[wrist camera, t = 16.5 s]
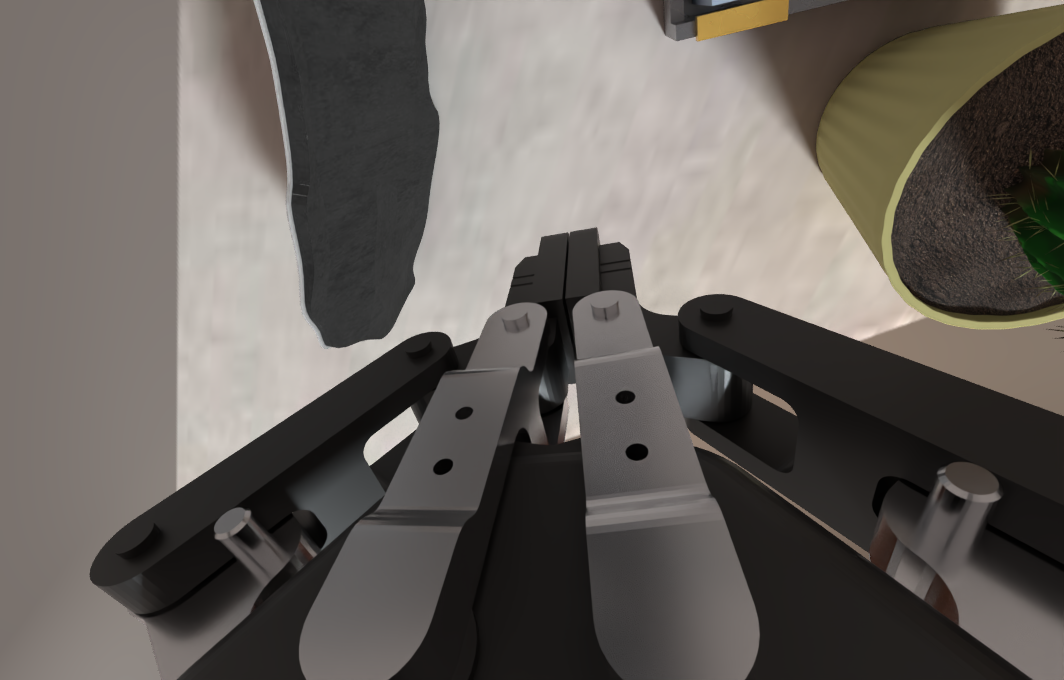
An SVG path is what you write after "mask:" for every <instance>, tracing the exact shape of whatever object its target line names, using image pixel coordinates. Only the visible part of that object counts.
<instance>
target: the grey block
mask: <svg viewBox="0 0 1064 680" xmlns="http://www.w3.org/2000/svg"><path fill="white" fill-rule="evenodd" d="M731 1H735V0H692V4H695V5H705V6H715V5H719V4H723V3H727V2H731Z"/></svg>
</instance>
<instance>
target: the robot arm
mask: <svg viewBox="0 0 1064 680" xmlns="http://www.w3.org/2000/svg"><path fill="white" fill-rule="evenodd" d="M575 383H576V389H577V400H578V412H579V423H580V435H581V438H579V439H575V440H571V441H568V442H564V441H565V434H566V428H567V421H568V414H569V404H568V400H567V393H568V384H575ZM753 384H754V385H756V386H758V387H760V388H762V389H764V390H766V391H768V392H769V393H771V394H773V395H775V396H777V397H779V398H781V399H783V400H784V401H785V402H787V403H788V404H789V405H790V406H791V407H792V408H793V410H794V411H795V413H796V414H797V416H795V415H793V414H792V413H790V412H788V411H786V410H784V409H782V408H780V407H778V406H777V405H775V404H773V403H771V402H769V401H767V400H765V399H763V398H761V397H759V396H758V395H756V394H754V393H753ZM410 406H411V408H412V410H413V412H414V414H415V416H416V418H417V421H418V423H419V425H418V427H417V429H416V430H415V431H414V432H413V433H411V434H410V435H409V436H408V437H406V438H405V439H404V440H402V441H401V442H400V443H399V444H397V445H396V446H395V447H394V448H392V449H391V450H390V451H389V452H387V453H386V454H385V455H383V456H382V457H381V458H380V459H378V460H377V461H376V462H375V463H373V464H372V465H370V466H369V465H368V463H367V462H366V460H365V458H364V454H363V451H364V447H365V444H366V442H367V441H368V439H369V438H370V437H371V436H372V435H373V434H374V433H376V432H377V431H378V430H380V429H381V428H382V427H384V426H385V425H386V424H388V423H389V422H390V421H392V420H393V419H394V418H396V417H397V416H398V415H400V414H401V413H402V412H404V411H405V410H406V409H408V408H409V407H410ZM687 428H688V429H689V430H690V431H691V432H692V433H693V434H694V435H696V436H697V437H699V438H700V439H702V440H703V441H705V442H706V443H707V444H709V445H710V446H712V447H714V448H715V449H716V450H718V451H719V452H721V453H722V454H724V455H725V456H727V457H728V458H730V459H731V460H733V461H734V462H735V463H737V464H738V465H740V466H741V467H743V468H744V469H746V470H747V471H749V472H750V473H752V474H753V475H755V476H756V477H758V478H759V479H761V480H762V481H764V482H765V483H766V484H768V485H770V486H771V487H772V488H774V489H775V490H777V491H778V492H780V493H781V494H783V495H784V496H786V497H787V498H789V499H790V500H792V501H793V502H795V503H796V504H797V505H799V506H800V507H802V508H804V509H805V510H806V511H808V512H809V513H811V514H812V515H814V516H815V517H817V518H818V519H820V520H821V521H823V522H824V523H826V524H827V525H828V526H830V527H831V528H833V529H834V530H836V531H837V532H839V533H840V534H842V535H843V536H845V537H846V538H848V539H849V540H851V541H852V542H854V543H855V544H856V545H858V546H859V547H861V548H862V549H864V550H865V551H867V552H868V553H869V556H870V561H871V562H870V561H869V560H867V559H866V558H865V557H863V556H862V555H861V554H859V553H858V552H856V551H855V550H854V549H852V548H851V547H850V546H848V545H847V544H845V543H844V542H843V541H841V540H840V539H839V538H837V537H836V536H834V535H833V534H832V533H830V532H829V531H827V530H826V529H825V528H823V527H822V526H821V525H819V524H818V523H817V522H815V521H813V520H812V519H811V518H810V517H808V516H807V515H805V514H804V513H803V512H801V511H800V510H799V509H797V508H796V507H794V506H793V505H792V504H790V503H789V502H787V501H786V500H785V499H783V498H782V497H781V496H779V495H778V494H776V493H775V492H774V491H772V490H771V489H769V488H768V487H767V486H765V485H764V484H763V483H761V482H760V481H759V480H757V479H756V478H754V477H753V476H752V475H750V474H749V473H748V472H746V471H745V470H743V469H742V468H740V467H739V466H737V465H736V464H734V463H732V462H731V461H729V460H727V459H725V458H724V457H721V456H719V455H717V454H715V453H712V452H710V451H707V450H704V449H701V448H698V447H694V446H693V443H692V440H691V437H690V434H689V432H688V429H687ZM90 580H91V581H92V583H93V584H95V585H96V586H98V587H99V588H100V589H102V590H103V591H104V592H106V593H107V594H108V595H110V596H111V597H113V598H114V599H115V600H117V601H118V602H120V603H121V604H122V605H124V606H125V607H126V608H127V610H128V612H129V614H130V615H132V616H133V617H135V618H136V619H137V620H139V621H140V622H141V623H143V624H144V625H146V627H147V631H148V634H149V637H150V641H151V645H152V648H153V652H154V655H155V659H156V663H157V666H158V670H159V673H160V677H161V680H1064V416H1062V415H1059V414H1056V413H1053V412H1050V411H1048V410H1045V409H1042V408H1040V407H1037V406H1034V405H1032V404H1029V403H1026V402H1023V401H1021V400H1018V399H1015V398H1013V397H1010V396H1007V395H1004V394H1002V393H999V392H996V391H994V390H991V389H988V388H985V387H983V386H980V385H977V384H975V383H972V382H969V381H966V380H964V379H961V378H958V377H955V376H952V375H950V374H947V373H944V372H942V371H939V370H936V369H933V368H931V367H928V366H925V365H923V364H920V363H917V362H914V361H912V360H909V359H906V358H904V357H901V356H898V355H895V354H893V353H890V352H887V351H884V350H882V349H879V348H876V347H874V346H871V345H868V344H865V343H863V342H860V341H857V340H855V339H852V338H849V337H847V336H844V335H841V334H838V333H836V332H833V331H830V330H827V329H825V328H822V327H819V326H817V325H814V324H811V323H808V322H806V321H803V320H800V319H797V318H795V317H792V316H789V315H787V314H784V313H781V312H778V311H776V310H773V309H770V308H768V307H765V306H762V305H759V304H757V303H754V302H751V301H748V300H746V299H743V298H740V297H737V296H733V295H725V294H712V295H705V296H701V297H697V298H694V299H692V300H690V301H688V302H687V303H685V304H684V305H683V306H682V307H681V308H680V310H679V312H678V316H673V315H662V314H657V313H653V312H650V311H648V310H646V309H645V308H643V307H642V306H641V305H640V304H639V302H638V300H637V297H636V290H635V284H634V278H633V272H632V266H631V260H630V254H629V249H628V248H626V247H625V246H624V245H622V244H621V243H620V242H617V243H610V244H604V245H600V241H599V234H598V229H597V227H596V228H590V229H585V230H579V231H573V232H570V236H569V233H568V232H567V233H562V234H556V235H550V236H544V237H541V242H540V247H539V252H538V255H537V256H531V257H525V258H524V259H523V260H522V261H521V262H520V263H519V264H518V265H517V266H516V267H515V271H514V275H513V279H512V282H511V288H510V290H509V294H508V298H507V301H506V305H505V307H504V308H502V309H500V310H498V311H496V312H495V313H494V314H492V315H491V316H490V317H489V319H488V320H487V322H486V324H485V326H484V328H483V331H482V333H481V335H480V338H478V339H476V340H473V341H470V342H467V343H464V344H461V345H458V346H455V347H453V345H452V342H451V339H450V337H449V336H448V335H446V334H444V333H441V332H427V333H422V334H419V335H416V336H413V337H411V338H409V339H407V340H405V341H403V342H402V343H400V344H399V345H397V346H396V347H394V348H393V349H391V350H390V351H388V352H387V353H385V354H384V355H382V356H381V357H379V358H378V359H376V360H375V361H373V362H372V363H370V364H369V365H367V366H366V367H364V368H363V369H361V370H359V371H358V372H356V373H355V374H353V375H352V376H350V377H349V378H347V379H346V380H344V381H343V382H341V383H340V384H338V385H337V386H335V387H334V388H332V389H331V390H329V391H328V392H326V393H325V394H323V395H322V396H320V397H319V398H317V399H316V400H314V401H313V402H311V403H310V404H308V405H307V406H305V407H303V408H302V409H300V410H299V411H297V412H296V413H294V414H293V415H291V416H290V417H288V418H287V419H285V420H284V421H282V422H281V423H279V424H278V425H276V426H275V427H273V428H272V429H270V430H269V431H267V432H266V433H264V434H263V435H261V436H260V437H258V438H257V439H255V440H254V441H252V442H251V443H249V444H248V445H246V446H244V447H243V448H241V449H240V450H238V451H237V452H235V453H234V454H232V455H231V456H229V457H228V458H226V459H225V460H223V461H222V462H220V463H219V464H217V465H216V466H214V467H213V468H211V469H210V470H208V471H207V472H205V473H204V474H202V475H201V476H199V477H198V478H196V479H195V480H193V481H192V482H190V483H188V484H187V485H185V486H184V487H182V488H181V489H179V490H178V491H176V492H175V493H173V494H172V495H171V496H169V497H167V498H166V499H164V500H163V501H161V502H160V503H158V504H157V505H155V506H154V507H152V508H151V509H149V510H148V511H146V512H145V513H143V514H142V515H140V516H139V517H137V518H136V519H134V520H133V521H131V522H130V523H128V524H127V525H126V526H124V527H123V528H122V529H121V530H119V531H118V532H117V533H116V534H115V535H114V536H113V537H112V538H111V539H110V540H109V541H108V542H107V543H106V544H105V545H104V547H103V548H102V549H101V550H100V552H99V553H98V555H97V556H96V558H95V560H94V562H93V564H92V566H91V569H90Z"/></svg>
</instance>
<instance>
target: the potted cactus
mask: <svg viewBox="0 0 1064 680" xmlns="http://www.w3.org/2000/svg"><path fill="white" fill-rule="evenodd" d="M816 152H817V159H818V163H819V167H820V168H821V171H822V173H823V176H824V178H825V180H826V181H827V183H828V184H829V186H830V187H831V189H832V191H833V192H834V194H835V195H836V197H837V198H838V200H839V201H840V203H841V204H842V206H843V208H844V209H845V211H846V212H847V214H848V215H849V217H850V218H851V220H852V221H853V223H854V225H855V226H856V228H857V229H858V231H859V232H860V234H861V235H862V237H863V239H864V240H865V242H866V243H867V245H868V246H869V248H870V250H871V251H872V253H873V254H874V256H875V258H876V259H877V261H878V262H879V264H880V266H881V267H882V269H883V270H884V272H885V273H886V274H887V276H888V277H889V280H890V282H891V285H892V286H893V288H894V289H895V290H896V291H897V293H898V294H899V295H900V296H901V297H902V299H903V300H904V301H905V302H906V303H907V304H908V305H909V306H911V307H912V308H914V309H916V310H917V311H918V312H920V313H921V314H923V315H924V316H926V317H928V318H931V319H934V320H937V321H940V322H942V323H945V324H948V325H952V326H959V327H965V328H971V329H1010V328H1018V327H1025V326H1032V325H1038V324H1043V323H1046V322H1050V321H1054V320H1058V319H1062V318H1064V4H1062V5H1056V6H1051V7H1045V8H1039V9H1034V10H1028V11H1022V12H1017V13H1011V14H1005V15H999V16H994V17H988V18H982V19H977V20H971V21H965V22H959V23H954V24H948V25H942V26H936V27H931V28H927V29H925V30H921V31H917V32H912V33H908V34H907V35H904V36H902V37H899V38H897V39H895V40H893V41H891V42H889V43H887V44H885V45H884V46H882V47H880V48H879V49H877V50H876V51H874V52H873V53H871V54H870V55H869V56H867V57H866V58H865V59H864V60H863V61H861V62H860V63H859V64H858V65H857V66H856V67H855V68H854V69H853V70H852V71H851V72H850V73H849V74H848V75H847V76H846V77H845V79H844V80H843V81H842V82H841V83H840V85H839V86H838V87H837V89H836V90H835V92H834V93H833V95H832V97H831V98H830V100H829V102H828V104H827V106H826V108H825V110H824V112H823V115H822V117H821V120H820V124H819V128H818V132H817V140H816ZM1056 331H1063V332H1064V330H1056ZM1061 338H1064V337H1061Z"/></svg>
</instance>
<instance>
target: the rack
mask: <svg viewBox="0 0 1064 680" xmlns="http://www.w3.org/2000/svg"><path fill="white" fill-rule="evenodd" d="M843 1H847V0H735V1H731V2H727V3H723V4H719V5H715V6H705V5H695V4H692V0H663V3H664V21H665V36H667V37H669V38H671V39H673V40H675V41H680V40H684V39H688V38H692V37H696V41H701V40H706V39H710V38H714V37H718V36H723V35H727V34H731V33H735V32H739V31H744V30H748V29H752V28H756V27H760V26H765V25H769V24H773V23H777V22H782V21H786V20H788V14H792V13H797V12H801V11H805V10H809V9H813V8H817V7H822V6H826V5H830V4H834V3H838V2H843Z"/></svg>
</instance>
